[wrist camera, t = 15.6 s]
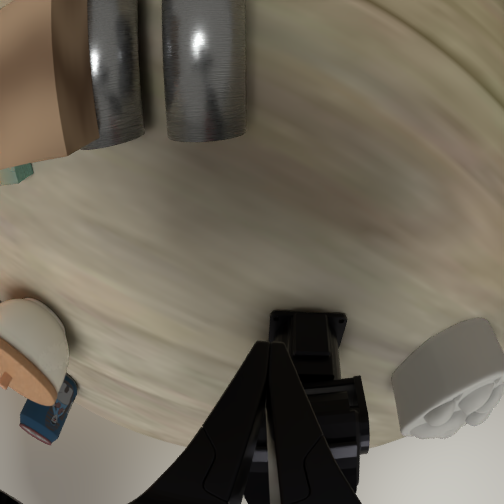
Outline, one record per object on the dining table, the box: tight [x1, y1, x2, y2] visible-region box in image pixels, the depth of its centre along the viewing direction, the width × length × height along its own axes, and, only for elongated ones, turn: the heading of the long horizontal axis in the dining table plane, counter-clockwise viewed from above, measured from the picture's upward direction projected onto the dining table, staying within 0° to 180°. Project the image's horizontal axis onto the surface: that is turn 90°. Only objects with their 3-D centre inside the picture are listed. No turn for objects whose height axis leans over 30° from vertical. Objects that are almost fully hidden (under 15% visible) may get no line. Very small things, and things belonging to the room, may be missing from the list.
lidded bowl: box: [0, 298, 69, 406], centre depth 27 cm, size 13×13×11 cm
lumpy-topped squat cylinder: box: [392, 318, 504, 439], centre depth 25 cm, size 10×13×9 cm
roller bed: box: [0, 0, 246, 186], centre depth 14 cm, size 15×26×4 cm, turn 90°
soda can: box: [20, 374, 77, 445], centre depth 35 cm, size 7×7×12 cm
